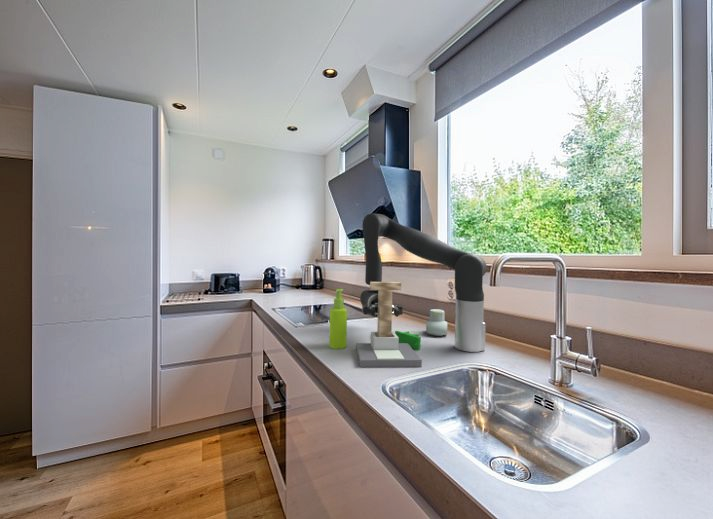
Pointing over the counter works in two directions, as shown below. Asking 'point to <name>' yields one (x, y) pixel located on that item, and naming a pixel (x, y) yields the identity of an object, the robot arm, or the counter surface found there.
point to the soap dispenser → (338, 323)
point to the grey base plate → (386, 353)
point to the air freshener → (436, 323)
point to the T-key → (384, 306)
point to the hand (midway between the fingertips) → (385, 313)
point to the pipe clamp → (409, 339)
